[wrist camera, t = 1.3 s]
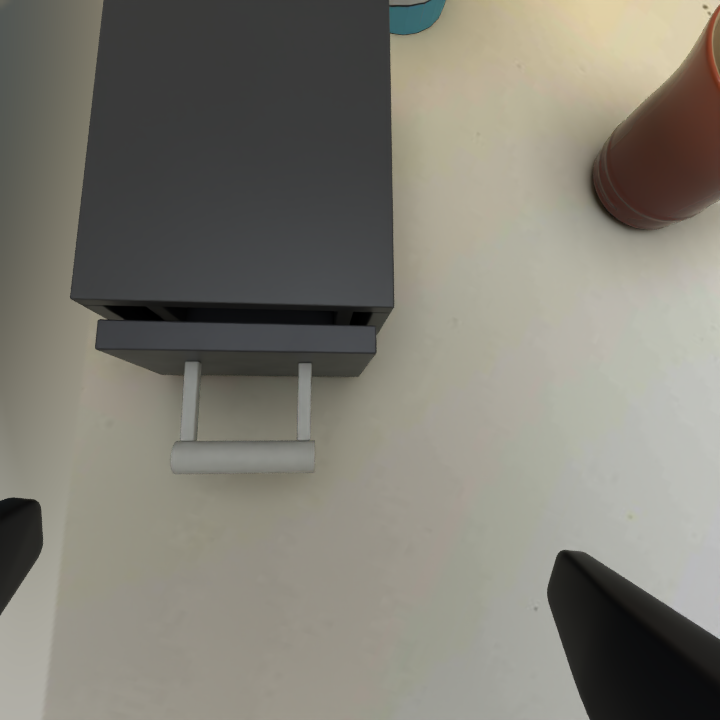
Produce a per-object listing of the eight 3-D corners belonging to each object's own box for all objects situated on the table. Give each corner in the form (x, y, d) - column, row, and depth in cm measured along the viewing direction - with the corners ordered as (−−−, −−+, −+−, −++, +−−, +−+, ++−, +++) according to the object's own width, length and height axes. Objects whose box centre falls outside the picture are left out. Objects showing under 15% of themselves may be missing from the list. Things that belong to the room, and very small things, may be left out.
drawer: (359, 464, 24) (378, 477, 17) (153, 466, 23) (80, 481, 16) (358, 133, 27) (373, 27, 20) (179, 121, 26) (128, 4, 19)
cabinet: (367, 350, 26) (394, 307, 17) (157, 347, 25) (69, 298, 16) (366, 104, 29) (389, -43, 20) (176, 90, 28) (111, -73, 19)
